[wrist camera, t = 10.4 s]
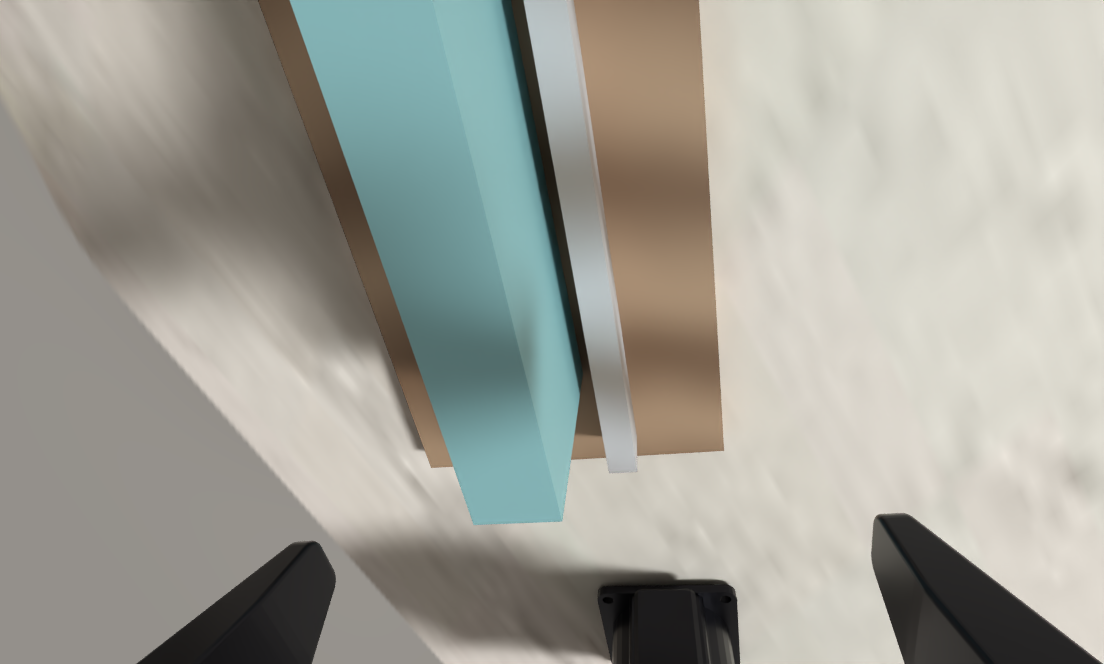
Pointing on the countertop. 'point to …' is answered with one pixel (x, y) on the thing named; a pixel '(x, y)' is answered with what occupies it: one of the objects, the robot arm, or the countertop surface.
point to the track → (589, 217)
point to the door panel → (460, 231)
